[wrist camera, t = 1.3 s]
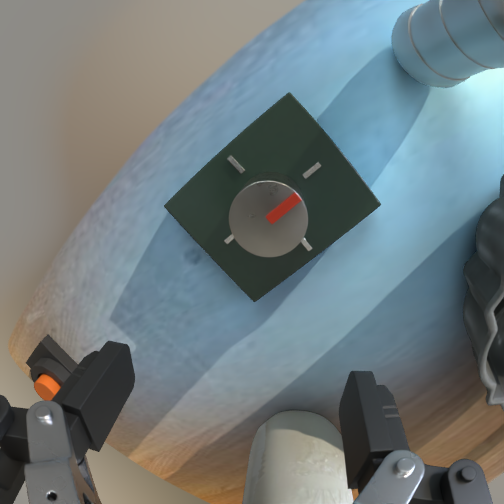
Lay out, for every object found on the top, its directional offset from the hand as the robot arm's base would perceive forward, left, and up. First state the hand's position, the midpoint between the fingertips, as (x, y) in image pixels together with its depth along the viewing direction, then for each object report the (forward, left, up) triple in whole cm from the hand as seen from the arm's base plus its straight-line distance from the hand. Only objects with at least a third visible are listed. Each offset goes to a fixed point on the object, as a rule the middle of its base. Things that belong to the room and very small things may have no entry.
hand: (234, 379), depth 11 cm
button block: (-21, -23, -16) cm, 36 cm away
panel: (0, +4, -16) cm, 17 cm away
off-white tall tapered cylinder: (+9, -20, -17) cm, 28 cm away
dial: (0, +4, -13) cm, 14 cm away
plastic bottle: (+9, +19, -17) cm, 26 cm away
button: (-21, -23, -13) cm, 34 cm away
